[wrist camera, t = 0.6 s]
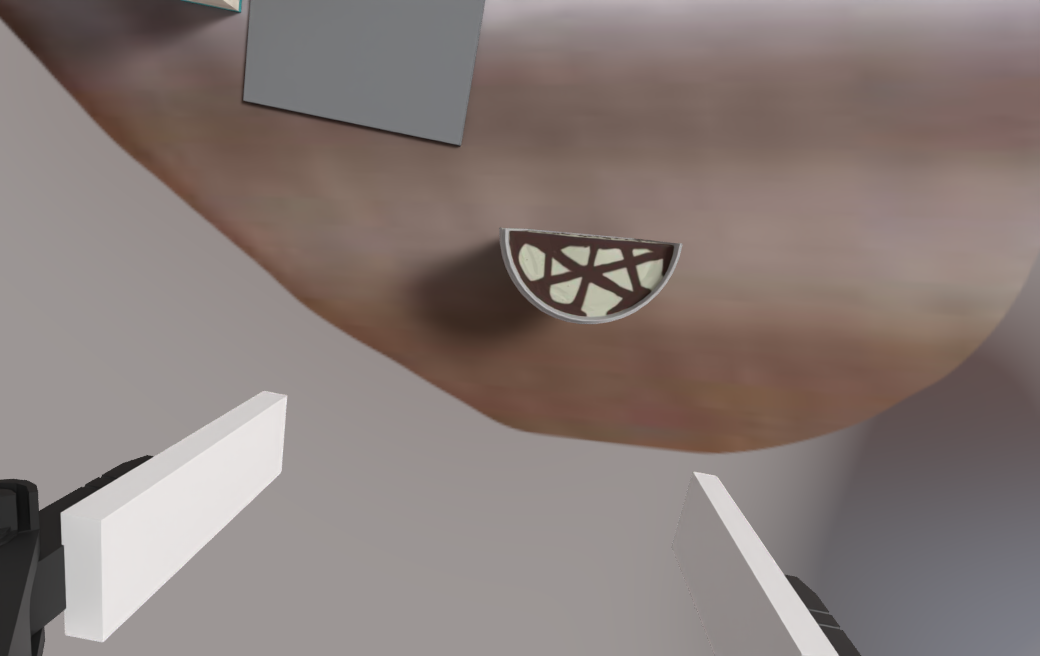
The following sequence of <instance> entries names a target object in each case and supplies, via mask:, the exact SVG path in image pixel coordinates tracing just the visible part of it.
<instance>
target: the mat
mask: <svg viewBox="0 0 1040 656" xmlns="http://www.w3.org/2000/svg"><path fill="white" fill-rule="evenodd" d="M484 4H485V0H251V3H250V16H249V30H248V44H247V57H246V71H245V84H244V98H243V100H244V101H246V102H251V103H256V104H260V105H265V106H270V107H275V108H280V109H285V110H289V111H294V112H299V113H304V114H309V115H314V116H319V117H323V118H328V119H333V120H338V121H343V122H348V123H352V124H357V125H362V126H367V127H372V128H377V129H381V130H386V131H391V132H396V133H401V134H406V135H410V136H415V137H420V138H425V139H430V140H435V141H440V142H444V143H449V144H454V145H459V146H461V143H462V137H463V131H464V125H465V119H466V113H467V107H468V101H469V95H470V89H471V83H472V77H473V71H474V65H475V59H476V53H477V47H478V41H479V35H480V28H481V22H482V16H483V10H484Z"/></svg>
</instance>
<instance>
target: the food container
mask: <svg viewBox="0 0 1040 656" xmlns="http://www.w3.org/2000/svg"><path fill="white" fill-rule="evenodd" d="M499 229H500V247H501V253H502V257H503V260H504V264H505V267H506V270H507V272H508V274H509V276H510V278H511V280H512V282H513V283H514V284H515V286H516V287H517V289H518V290H519V291H520V293H521V294H522V295H523V296H524V297H525V298H526V299H527V300H528V301H529V302H530V303H531V304H533V305H534V306H535V307H537V308H538V309H539V310H541V311H542V312H544V313H546V314H548V315H550V316H552V317H554V318H557V319H560V320H563V321H566V322H572V323H578V324H597V323H605V322H610V321H614V320H617V319H621V318H623V317H625V316H628V315H630V314H632V313H634V312H636V311H637V310H639V309H640V308H642V307H643V306H645V305H646V304H648V303H649V302H650V301H651V300H652V299H653V298H654V297H655V296H656V295H657V294H658V293H659V292H660V291H661V289H662V288H663V287H664V286H665V285H666V283H667V282H668V280H669V278H670V277H671V275H672V273H673V272H674V269H675V267H676V264H677V262H678V259H679V256H680V252H681V248H682V244H680V243H669V242H660V241H651V240H643V239H633V238H622V237H611V236H599V235H588V234H577V233H566V232H554V231H543V230H532V229H513V228H499Z"/></svg>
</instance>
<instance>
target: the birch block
mask: <svg viewBox="0 0 1040 656" xmlns="http://www.w3.org/2000/svg"><path fill="white" fill-rule="evenodd" d="M182 1H187V2H191V3H196V4H201V5H206V6H211V7H216V8H221V9H225V10H230V11H235V12H240V13H241V3H242V0H182Z"/></svg>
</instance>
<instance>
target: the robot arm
mask: <svg viewBox="0 0 1040 656" xmlns="http://www.w3.org/2000/svg"><path fill="white" fill-rule="evenodd" d="M286 403H287V395H283V394H278V393H272V392H267V391H263V392H261V393H259V394H258V395H256V396H254V397H253V398H251V399H249V400H248V401H246V402H244V403H243V404H241V405H239V406H238V407H236V408H234V409H233V410H231V411H229V412H228V413H226V414H225V415H223V416H221V417H219V418H218V419H216V420H214V421H213V422H211V423H209V424H208V425H206V426H204V427H203V428H201V429H199V430H198V431H196V432H194V433H193V434H191V435H189V436H188V437H186V438H184V439H183V440H181V441H179V442H178V443H176V444H174V445H173V446H171V447H169V448H168V449H166V450H165V451H163V452H161V453H159V454H158V455H156V456H148V455H147V456H144V457H140V458H137V459H134V460H131V461H128V462H125V463H122V464H121V465H119V466H117V467H115V468H113V469H112V470H110V471H108V472H106V473H105V474H103V475H102V477H101V478H99V477H98V478H96V479H94V480H92V481H91V482H89V483H87V484H86V485H85V487H80V488H78V489H77V490H75V491H73V492H72V493H70V494H68V495H66V496H65V497H63V498H61V499H59V500H57V501H56V502H54V503H52V504H51V505H49V506H47V507H45V508H44V509H42V510H40V511H39V505H38V490H37V486H36V485H35V484H33V483H31V482H29V481H27V480H18V479H4V480H0V656H42V654H43V648H44V642H45V632H44V626H45V625H46V624H47V623H49V622H50V621H51V620H52V619H54V618H55V617H56V616H57V615H59V614H60V613H61V612H62V611H63V610H64V615H65V616H64V618H65V635H68V636H73V637H78V638H83V639H88V640H94V641H99V642H104V641H105V640H106V639H107V638H108V637H109V636H110V635H111V634H112V633H113V632H114V631H115V630H116V629H117V628H118V627H119V626H121V624H123V623H124V622H125V621H126V620H127V619H128V618H129V617H130V616H131V615H132V614H133V613H134V612H135V611H136V610H137V609H138V608H139V607H140V606H141V605H143V604H144V603H145V602H146V601H147V600H148V599H149V598H150V597H151V596H152V595H153V594H154V593H155V592H156V591H157V590H158V589H159V588H160V587H161V586H163V584H165V583H166V582H167V581H168V580H169V579H170V578H171V577H172V576H173V575H174V574H175V573H176V572H177V571H178V570H179V569H180V568H181V567H183V566H184V565H185V564H186V562H188V561H189V560H190V559H191V558H192V557H193V556H194V555H195V554H196V553H197V552H198V551H199V550H200V549H201V548H202V547H204V545H206V544H207V543H208V542H209V541H210V540H211V539H212V538H213V537H214V536H215V535H216V534H217V533H218V532H219V531H220V530H221V529H222V528H223V527H225V525H227V524H228V523H229V522H230V521H231V520H232V519H233V518H234V517H235V516H236V515H237V514H238V513H239V512H240V511H241V510H242V509H243V508H244V507H246V506H247V505H248V504H249V503H250V502H251V501H252V500H253V499H254V498H255V497H256V496H257V495H258V494H259V493H260V492H261V491H262V490H263V489H264V488H265V487H266V486H268V485H269V484H270V483H271V482H272V481H273V480H274V479H275V478H276V477H277V476H278V475H279V474H280V473H281V469H282V456H283V444H284V430H285V417H286ZM672 549H673V551H674V554H675V557H676V559H677V561H678V564H679V567H680V569H681V572H682V574H683V577H684V579H685V582H686V584H687V587H688V589H689V592H690V595H691V597H692V600H693V602H694V605H695V607H696V610H697V612H698V615H699V618H700V620H701V623H702V625H703V628H704V630H705V633H706V635H707V638H708V640H709V643H710V646H711V648H712V651H713V653H714V656H861V655H860V653H859V652H858V651H857V649H856V648H855V646H854V645H853V644H852V642H851V641H850V640H849V639H848V637H847V636H846V634H845V633H844V631H843V630H840V626H839V625H838V623H837V622H836V621H835V619H834V618H833V616H832V615H829V611H828V610H827V608H826V607H825V606H824V604H823V603H822V601H821V600H820V599H819V597H818V596H817V595H816V593H814V592H813V591H812V590H811V589H810V588H809V587H808V586H806V585H805V584H804V583H803V582H802V581H801V580H799V579H798V578H797V577H794V576H788V575H784V574H783V573H782V571H781V570H780V568H779V567H778V565H777V564H776V562H775V561H774V559H773V558H772V557H771V555H770V554H769V552H768V551H767V549H766V548H765V546H764V545H763V543H762V542H761V540H760V539H759V537H758V536H757V534H756V533H755V532H754V530H753V529H752V527H751V526H750V524H749V523H748V522H747V520H746V518H745V517H744V515H743V514H742V512H741V511H740V510H739V508H738V507H737V505H736V504H735V503H734V501H733V499H732V498H731V496H730V495H729V493H728V492H727V490H726V489H725V487H724V486H723V484H722V483H721V482H720V480H719V479H718V477H717V476H714V475H708V474H703V473H698V472H693V473H692V476H691V480H690V483H689V487H688V490H687V494H686V497H685V501H684V504H683V508H682V511H681V515H680V518H679V522H678V525H677V529H676V533H675V536H674V540H673V543H672Z"/></svg>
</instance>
